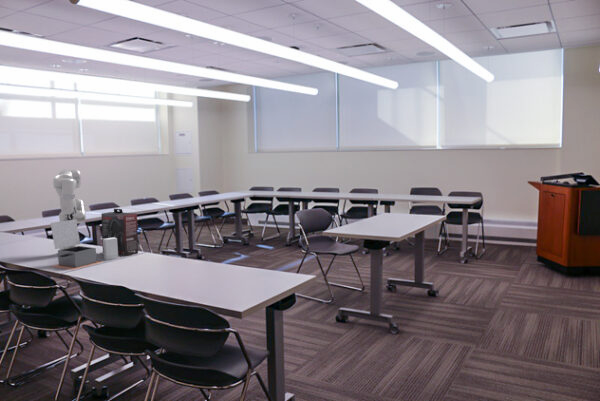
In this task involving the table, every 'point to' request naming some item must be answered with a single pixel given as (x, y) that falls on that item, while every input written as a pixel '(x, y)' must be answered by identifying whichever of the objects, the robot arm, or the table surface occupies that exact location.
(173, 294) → the table surface
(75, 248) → the gray storage bin
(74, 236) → the lid
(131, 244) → the headset box
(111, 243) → the skincare box
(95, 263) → the trivet mat
